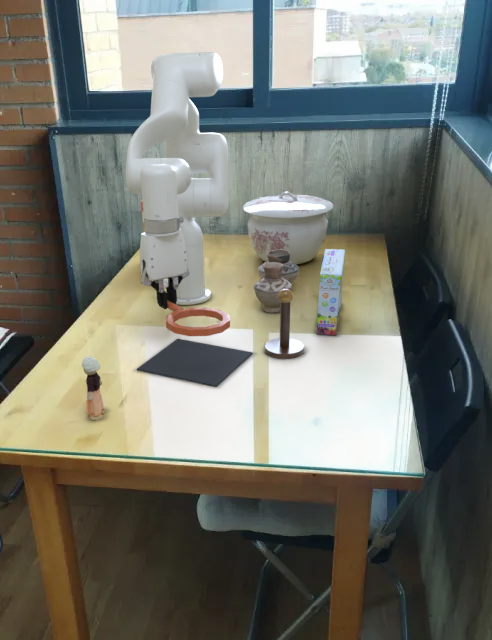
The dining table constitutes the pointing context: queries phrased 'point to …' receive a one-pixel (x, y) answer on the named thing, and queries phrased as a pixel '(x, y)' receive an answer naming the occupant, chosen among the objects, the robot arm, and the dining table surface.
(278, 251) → the pottery
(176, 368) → the mat
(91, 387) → the grandmother figurine
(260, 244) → the chamber pot
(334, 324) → the snack box
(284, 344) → the coat peg
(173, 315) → the orange ring with handle
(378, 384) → the dining table surface
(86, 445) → the dining table surface
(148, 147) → the robot arm
